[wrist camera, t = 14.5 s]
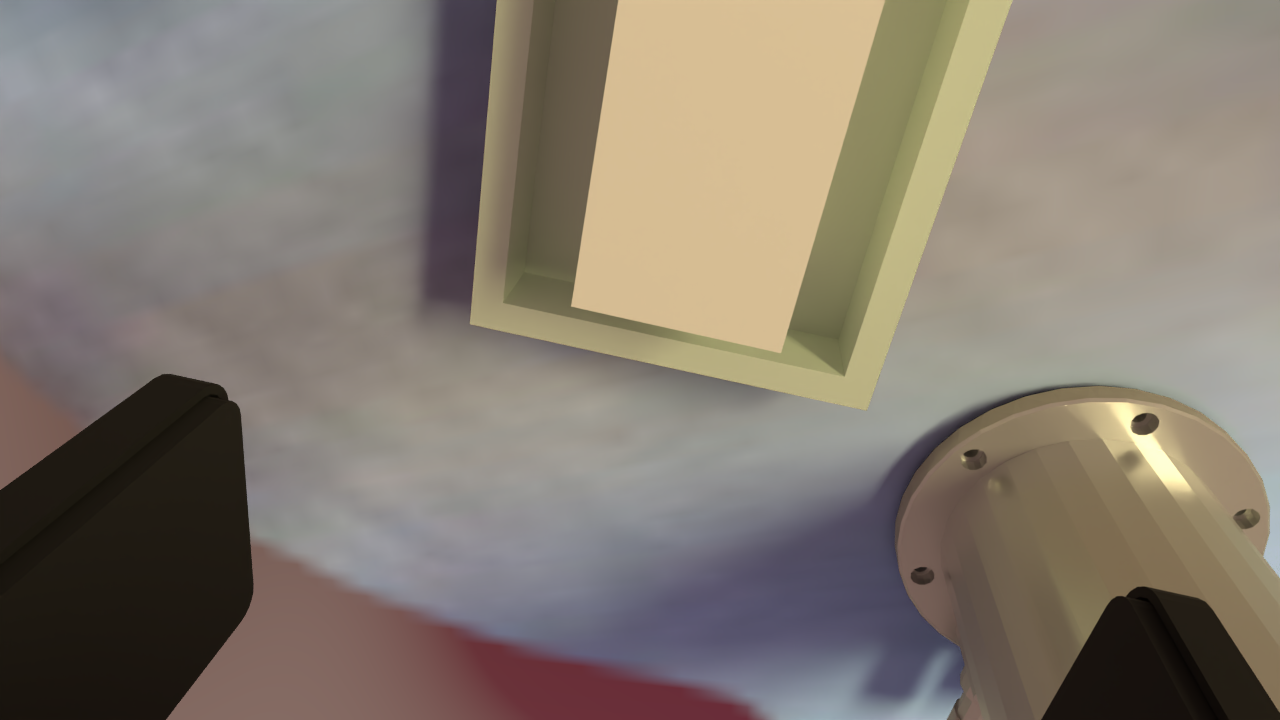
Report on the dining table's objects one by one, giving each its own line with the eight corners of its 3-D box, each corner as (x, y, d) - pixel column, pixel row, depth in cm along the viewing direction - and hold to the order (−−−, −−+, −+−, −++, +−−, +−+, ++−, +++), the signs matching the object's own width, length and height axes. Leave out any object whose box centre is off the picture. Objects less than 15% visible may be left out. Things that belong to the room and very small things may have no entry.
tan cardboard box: (771, 280, 28) (773, 380, 22) (610, 244, 28) (566, 334, 22) (920, -260, 21) (984, -338, 15) (704, -302, 21) (679, -396, 15)
